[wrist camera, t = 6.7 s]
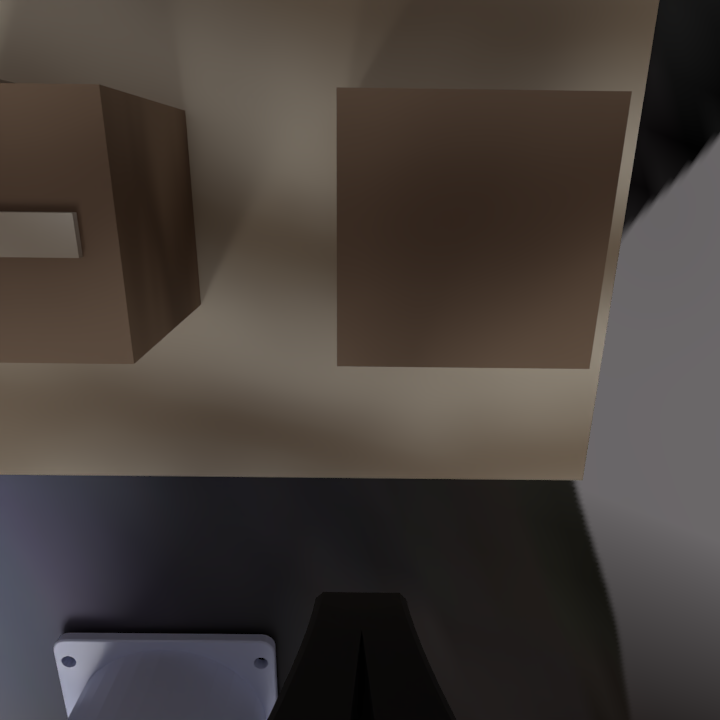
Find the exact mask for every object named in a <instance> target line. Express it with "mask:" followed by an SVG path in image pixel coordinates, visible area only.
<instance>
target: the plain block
mask: <svg viewBox="0 0 720 720" xmlns="http://www.w3.org/2000/svg"><path fill="white" fill-rule="evenodd" d="M631 95H632V91H569V90H494V89H418V88H342V87H336V100H337V366H354V367H447V368H540V369H589V368H590V362H591V355H592V349H593V342H594V336H595V329H596V323H597V316H598V310H599V303H600V297H601V290H602V284H603V277H604V271H605V264H606V258H607V251H608V245H609V238H610V232H611V225H612V219H613V212H614V206H615V199H616V192H617V186H618V179H619V173H620V166H621V160H622V153H623V147H624V140H625V134H626V127H627V121H628V114H629V108H630V101H631Z"/></svg>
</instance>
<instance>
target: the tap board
mask: <svg viewBox="0 0 720 720" xmlns="http://www.w3.org/2000/svg"><path fill="white" fill-rule="evenodd" d="M658 6H659V0H0V79H1V80H5V81H9V82H13V83H40V84H100V85H103V86H106V87H109V88H113V89H116V90H119V91H123V92H126V93H129V94H132V95H136V96H139V97H142V98H145V99H149V100H152V101H155V102H158V103H162V104H165V105H168V106H172V107H175V108H178V109H181V110H185V115H186V127H187V139H188V151H189V164H190V176H191V188H192V200H193V212H194V225H195V237H196V249H197V261H198V274H199V286H200V298H201V305H200V306H199V307H198V308H197V309H196V310H194V311H193V312H192V313H191V314H190V315H189V316H188V317H187V318H185V319H184V320H183V321H182V322H181V323H180V324H179V325H178V326H176V327H175V328H174V329H173V330H172V331H171V332H170V333H169V334H167V335H166V336H165V337H164V338H163V339H162V340H161V341H160V342H158V343H157V344H156V345H155V346H154V347H153V348H152V349H151V350H149V351H148V352H147V353H146V354H145V355H144V356H143V357H142V358H140V359H139V360H138V361H137V362H136V363H135V364H76V363H0V475H101V476H203V477H305V478H407V479H508V480H583V474H584V467H585V461H586V455H587V449H588V442H589V436H590V430H591V424H592V417H593V411H594V405H595V399H596V393H597V386H598V380H599V373H600V367H601V361H602V354H603V349H604V343H605V336H606V330H607V324H608V318H609V311H610V305H611V299H612V292H613V286H614V280H615V274H616V268H617V261H618V255H619V249H620V243H621V236H622V230H623V224H624V218H625V212H626V205H627V199H628V193H629V187H630V180H631V174H632V168H633V162H634V155H635V149H636V143H637V137H638V130H639V124H640V118H641V112H642V105H643V99H644V93H645V87H646V80H647V74H648V68H649V62H650V55H651V49H652V43H653V37H654V31H655V24H656V18H657V12H658ZM336 87H342V88H418V89H494V90H569V91H632V95H631V101H630V108H629V114H628V121H627V127H626V134H625V140H624V147H623V153H622V160H621V166H620V173H619V179H618V186H617V192H616V199H615V206H614V212H613V219H612V225H611V232H610V238H609V245H608V251H607V258H606V264H605V271H604V277H603V284H602V290H601V297H600V303H599V310H598V316H597V323H596V329H595V336H594V342H593V349H592V355H591V362H590V368H589V369H540V368H447V367H354V366H337V100H336Z"/></svg>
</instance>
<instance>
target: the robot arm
mask: <svg viewBox="0 0 720 720" xmlns="http://www.w3.org/2000/svg"><path fill="white" fill-rule="evenodd" d="M53 650H54V655H55V659H56V664H57V669H58V674H59V678H60V683H61V688H62V692H63V697H64V702H65V707H66V711H67V716H68V719H67V720H456V718H455V716H454V714H453V712H452V710H451V708H450V706H449V704H448V702H447V700H446V698H445V696H444V694H443V692H442V690H441V688H440V686H439V684H438V682H437V679H436V677H435V675H434V673H433V671H432V669H431V666H430V664H429V662H428V659H427V657H426V655H425V652H424V650H423V648H422V645H421V643H420V640H419V638H418V635H417V632H416V630H415V627H414V624H413V621H412V618H411V615H410V612H409V609H408V605H407V601H406V599H405V598H404V597H403V596H402V595H401V594H400V593H342V592H323V593H322V594H321V595H319V596H318V597H317V598H316V601H315V605H314V609H313V613H312V616H311V619H310V622H309V625H308V628H307V631H306V634H305V636H304V639H303V641H302V644H301V646H300V649H299V651H298V654H297V656H296V659H295V661H294V663H293V666H292V668H291V670H290V672H289V675H288V677H287V679H286V681H285V683H284V685H283V687H282V690H281V692H280V694H279V696H278V690H277V669H276V648H275V642H274V640H273V639H272V638H271V637H269V636H267V635H263V634H166V633H64V634H62V635H61V636H60V637H59V638H58V640H57V641H56V643H55V644H54V649H53ZM71 657H72V658H71ZM258 658H264V659H265V660H261V659H258Z"/></svg>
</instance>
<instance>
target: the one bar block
mask: <svg viewBox="0 0 720 720" xmlns="http://www.w3.org/2000/svg"><path fill="white" fill-rule="evenodd" d="M200 305H201V298H200V286H199V274H198V261H197V249H196V237H195V225H194V212H193V200H192V188H191V176H190V164H189V151H188V139H187V127H186V115H185V110H181V109H178V108H175V107H172V106H168V105H165V104H162V103H158V102H155V101H152V100H149V99H145V98H142V97H139V96H136V95H132V94H129V93H126V92H123V91H119V90H116V89H113V88H109V87H106V86H103V85H100V84H40V83H13V82H9V81H5V80H1V79H0V363H76V364H135V363H136V362H137V361H138V360H139V359H140V358H142V357H143V356H144V355H145V354H146V353H147V352H148V351H149V350H151V349H152V348H153V347H154V346H155V345H156V344H157V343H158V342H160V341H161V340H162V339H163V338H164V337H165V336H166V335H167V334H169V333H170V332H171V331H172V330H173V329H174V328H175V327H176V326H178V325H179V324H180V323H181V322H182V321H183V320H184V319H185V318H187V317H188V316H189V315H190V314H191V313H192V312H193V311H194V310H196V309H197V308H198V307H199V306H200Z"/></svg>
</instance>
